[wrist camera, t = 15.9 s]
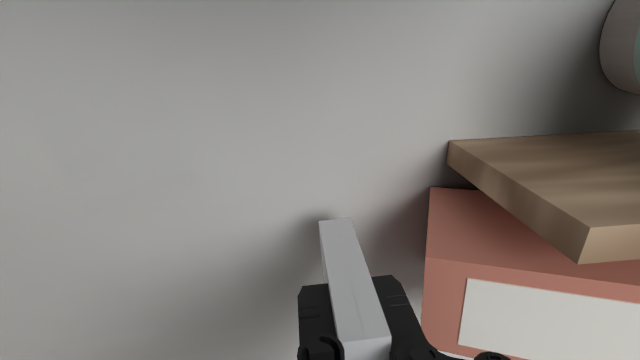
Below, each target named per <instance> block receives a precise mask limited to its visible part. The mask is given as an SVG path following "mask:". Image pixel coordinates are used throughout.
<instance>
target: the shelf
mask: <svg viewBox="0 0 640 360" xmlns="http://www.w3.org/2000/svg"><path fill="white" fill-rule="evenodd" d="M446 164H448V165H449V166H450V167H452V168H453V169H454V170H455V171H457V172H458V173H459V174H461V175H462V176H463V177H464V178H466V179H467V180H468V181H470V182H471V183H472V184H474V185H475V186H476V187H477V188H479V189H480V190H481V191H483V192H484V193H485V194H486V195H488V196H489V197H490V198H492V199H493V200H494V201H495V202H497V203H498V204H499V205H501V206H502V207H503V208H505V209H506V210H507V211H508V212H510V213H511V214H512V215H514V216H515V217H516V218H517V219H519V220H520V221H521V222H523V223H524V224H525V225H527V226H528V227H529V228H530V229H532V230H533V231H534V232H536V233H537V234H538V235H539V236H541V237H542V238H543V239H545V240H546V241H547V242H548V243H550V244H551V245H552V246H554V247H555V248H556V249H558V250H559V251H560V252H561V253H563V254H564V255H565V256H567V257H568V258H569V259H570V260H572V261H573V262H574V263H576V264H577V265H578V264H589V263H600V262H611V261H623V260H634V259H640V130H630V131H613V132H595V133H577V134H559V135H541V136H523V137H505V138H487V139H469V140H451V141H449V148H448V155H447V162H446Z"/></svg>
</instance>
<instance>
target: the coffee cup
mask: <svg viewBox="0 0 640 360" xmlns="http://www.w3.org/2000/svg"><path fill="white" fill-rule="evenodd" d="M599 56H600V63H601V67H602V70H603V72H604V74H605V76H606V77H607V79H608V80H609V81H610V82H611V83H612V84H613V85H614V86H615V87H617V88H619V89H621V90H624V91H627V92H630V93H634V94H637V95H640V0H616V1H615V2H614V4H613V6H612V8H611V10H610V11H609V14H608V16H607V18H606V21H605V24H604V27H603V30H602V33H601V39H600V47H599Z"/></svg>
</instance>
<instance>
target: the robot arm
mask: <svg viewBox="0 0 640 360" xmlns="http://www.w3.org/2000/svg"><path fill="white" fill-rule="evenodd" d="M318 222H319V234H320V247H321V259H322V270H323V276H324V283H325V284H317V285H309V286H302V288H301V291H300V293H299V295H298V317H299V340H300V346H299V348H298V354H297V359H298V360H464V359H458V358H453V357H450V356H446V355H444V354H442V353H440V352H439V351H437V349H436V348H435V347H433V346H432V345H431V344H430V343H429V342H428V341H427V339H426V337H425V335H424V333H423V331H422V329H421V326H420V324H419V322H418V320H417V318H416V316H415V313H414V311H413V309H412V307H411V305H410V303H409V300H408V298H407V296H406V294H405V292H404V289H403V287H402V285H401V283H400V282H399V281H398V280H396V279H395V278H394V277H393V276H392V275H386V276H377V277H371V276H370V273H369V270H368V267H367V265H366V262H365V259H364V256H363V253H362V250H361V247H360V245H359V242H358V239H357V236H356V233H355V230H354V227H353V225H352V222H351V219H350V218H342V219H332V220H323V221H318ZM474 360H511V359H510V358H509V357H506V356H504V355H502V354H500V353H497V352H491V351H487V352H481V353H479V354H478V355H477V356H476V357H475V358H474Z"/></svg>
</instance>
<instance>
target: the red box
mask: <svg viewBox="0 0 640 360" xmlns="http://www.w3.org/2000/svg"><path fill="white" fill-rule="evenodd" d="M421 329H422V331H423V333H424V335H425V337H426V339H427V341H428V342H429V343H430V344H431V345H432V346H433V347H435V348H436V349H437V350H439V351H444V352H448V353H453V354H457V355H462V356H466V357H471V358H475V357H476V356H477V355H478V354H479V353H481V352H487V351H491V352H497V353H500V354H502V355H504V356H506V357H509V358H510V359H511V360H640V259H634V260H623V261H611V262H600V263H589V264H578V265H577V264H576V263H574V262H573V261H572V260H570V259H569V258H568V257H567V256H565V255H564V254H563V253H561V252H560V251H559V250H558V249H556V248H555V247H554V246H552V245H551V244H550V243H548V242H547V241H546V240H545V239H543V238H542V237H541V236H539V235H538V234H537V233H536V232H534V231H533V230H532V229H530V228H529V227H528V226H527V225H525V224H524V223H523V222H521V221H520V220H519V219H517V218H516V217H515V216H514V215H512V214H511V213H510V212H508V211H507V210H506V209H505V208H503V207H502V206H501V205H499V204H498V203H497V202H495V201H494V200H493V199H492V198H490V197H489V196H488V195H486V194H485V193H484V192H483V191H479V190H465V189H450V188H436V187H430V199H429V213H428V228H427V242H426V256H425V271H424V285H423V300H422V314H421Z"/></svg>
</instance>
